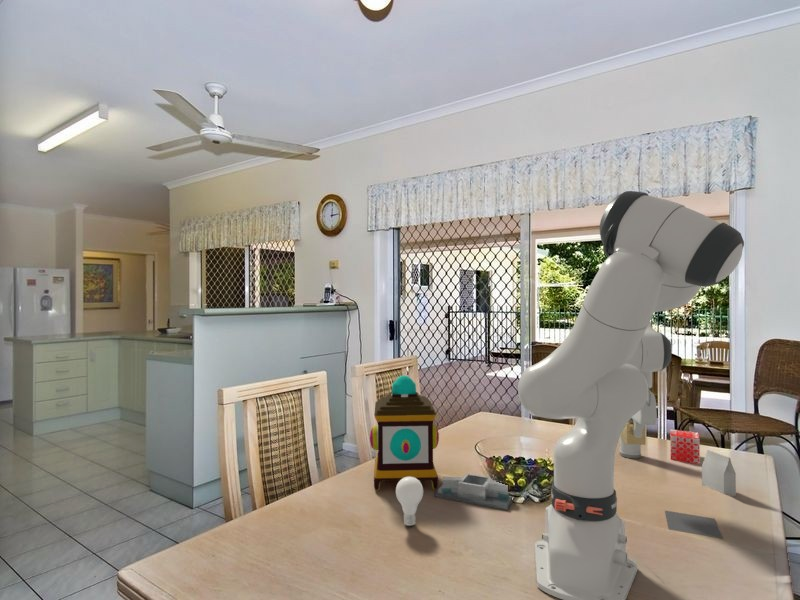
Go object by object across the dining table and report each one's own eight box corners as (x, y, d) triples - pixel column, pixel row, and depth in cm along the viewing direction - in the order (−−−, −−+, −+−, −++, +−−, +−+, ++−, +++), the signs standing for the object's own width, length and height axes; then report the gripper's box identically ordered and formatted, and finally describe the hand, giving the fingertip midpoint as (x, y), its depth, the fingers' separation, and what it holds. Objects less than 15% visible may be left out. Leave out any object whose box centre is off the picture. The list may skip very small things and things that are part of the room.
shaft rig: (507, 510, 113) (507, 492, 113) (434, 496, 121) (434, 480, 121) (515, 495, 122) (515, 478, 122) (447, 483, 130) (447, 467, 130)
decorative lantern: (369, 493, 124) (368, 381, 124) (371, 467, 144) (370, 370, 144) (443, 492, 124) (442, 380, 125) (435, 466, 144) (434, 369, 144)
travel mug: (614, 454, 154) (613, 394, 154) (628, 451, 157) (627, 392, 157) (631, 460, 148) (630, 397, 148) (645, 457, 151) (644, 395, 151)
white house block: (723, 497, 120) (723, 458, 120) (702, 487, 127) (701, 450, 127) (735, 496, 121) (735, 457, 121) (713, 486, 127) (713, 449, 127)
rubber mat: (723, 542, 97) (723, 538, 97) (668, 532, 102) (668, 528, 102) (714, 522, 106) (714, 518, 106) (664, 513, 111) (664, 510, 111)
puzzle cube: (699, 463, 145) (699, 438, 145) (670, 459, 149) (670, 435, 149) (698, 456, 152) (697, 432, 152) (670, 452, 156) (670, 429, 156)
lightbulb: (400, 534, 102) (399, 484, 102) (392, 521, 108) (392, 473, 108) (427, 530, 104) (427, 481, 104) (418, 517, 110) (418, 471, 110)
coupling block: (645, 444, 115) (645, 420, 115) (626, 444, 115) (626, 420, 115) (638, 439, 119) (638, 416, 119) (620, 438, 119) (620, 415, 119)
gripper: (664, 387, 106) (664, 447, 106) (629, 372, 127) (629, 422, 127) (635, 386, 107) (635, 446, 107) (606, 372, 127) (605, 422, 127)
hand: (632, 433), depth 117 cm, fingers closed on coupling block, 4 cm apart
